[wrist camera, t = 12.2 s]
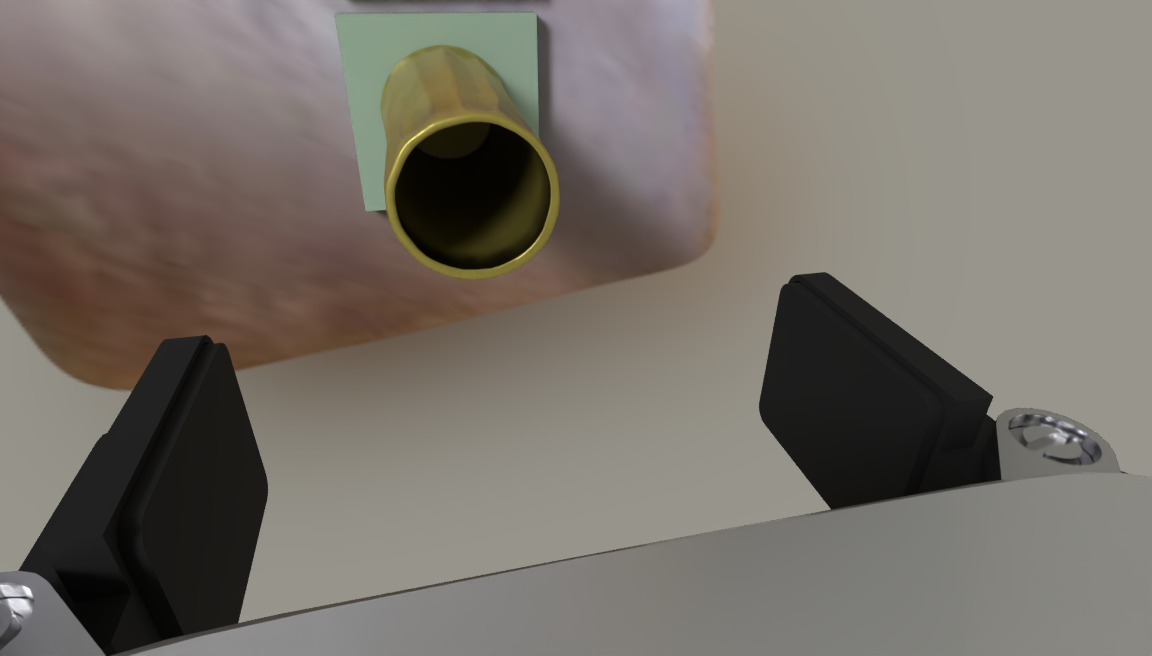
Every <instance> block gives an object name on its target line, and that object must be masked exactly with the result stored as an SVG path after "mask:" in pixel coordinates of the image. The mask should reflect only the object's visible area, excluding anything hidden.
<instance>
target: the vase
mask: <svg viewBox="0 0 1152 656" xmlns="http://www.w3.org/2000/svg"><path fill="white" fill-rule="evenodd" d="M380 110H381V117H382V121H383V124H384V129H385V134H386V142H387V149H386V159H385V173H384V193H385V203H386V211H387V215H388V219H389V222H390V225H391V227H392V230H393V232H394V234H395V235H396V237H397V239H398V240H399V241H400V242H401V244H402V245H403V246H404V247H405V248H406V249H407V251H408V252H409V253H410V254H411V255H412V256H413V257H414V258H415V259H416V260H417V261H418V262H420V263H421V264H422V265H424V266H425V267H427V268H429V269H431V270H433V271H436V272H438V273H441V274H444V275H446V276H450V277H453V278H457V279H467V280H482V279H488V278H493V277H497V276H501V275H504V274H507V273H509V272H511V271H514V270H516V269H517V268H519V267H521V266H522V265H524V264H525V263H527V262H528V261H529V260H530V259H532V258H533V257H534V256H535V255H536V254H537V253H538V252H539V251H540V250H541V249H542V248H543V247H544V245H545V244H546V243H547V241H548V239H549V238H550V236H551V233H552V231H553V229H554V226H555V223H556V220H557V217H558V213H559V206H560V188H559V179H558V173H557V169H556V167H555V164H554V162H553V160H552V158H551V157H550V155H549V153H548V152H547V150H546V148H545V146H544V145H543V143H542V142H541V141H540V139H539V138H538V136H537V135H536V133H535V132H534V131H533V130H532V129H531V128H530V126H529V125H528V124H527V123H526V121H525V120H524V119H523V118H522V116H521V115H520V113H519V112H518V110H517V109H516V107H515V106H514V104H513V103H512V101H511V100H510V98H509V97H508V95H507V93H506V91H505V88H504V86H503V83H502V81H501V79H500V78H499V76H498V75H497V74H496V72H495V71H494V70H493V69H492V68H491V67H490V66H489V65H488V64H487V63H486V62H485V61H484V60H483V59H482V58H480V57H479V56H477V55H476V54H474V53H472V52H470V51H468V50H466V49H463V48H459V47H455V46H450V45H434V46H429V47H426V48H422V49H419V50H417V51H414V52H412V53H410V54H409V55H407V56H406V57H404V58H403V59H402V60H401V61H400V62H399V63H398V64H397V65H396V66H395V67H394V68H393V70H392V71H391V72H390V74H389V76H388V78H387V80H386V82H385V85H384V88H383V92H382V97H381V106H380Z"/></svg>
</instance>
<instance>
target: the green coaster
mask: <svg viewBox="0 0 1152 656" xmlns="http://www.w3.org/2000/svg"><path fill="white" fill-rule="evenodd" d="M335 20H336V27H337V33H338V39H339V46H340V52H341V58H342V65H343V71H344V77H345V84H346V90H347V96H348V103H349V109H350V115H351V121H352V128H353V134H354V140H355V147H356V153H357V159H358V166H359V172H360V178H361V185H362V191H363V197H364V203H365V210H366V211H376V210H386V203H385V193H384V173H385V159H386V149H387V142H386V134H385V129H384V124H383V121H382V117H381V110H380V106H381V97H382V92H383V88H384V85H385V82H386V80H387V78H388V76H389V74H390V72H391V71H392V70H393V68H394V67H395V66H396V65H397V64H398V63H399V62H400V61H401V60H402V59H403V58H404V57H406V56H407V55H409V54H410V53H412V52H414V51H417V50H419V49H422V48H426V47H429V46H434V45H450V46H455V47H459V48H463V49H466V50H468V51H470V52H472V53H474V54H476V55H477V56H479V57H480V58H482V59H483V60H484V61H485V62H486V63H487V64H488V65H489V66H490V67H491V68H492V69H493V70H494V71H495V72H496V74H497V75H498V76H499V78H500V79H501V81H502V83H503V86H504V88H505V91H506V93H507V95H508V97H509V98H510V100H511V101H512V103H513V104H514V106H515V107H516V109H517V110H518V112H519V113H520V115H521V116H522V118H523V119H524V120H525V121H526V123H527V124H528V125H529V126H530V128H531V129H532V130H533V131H534V132H535V133H536V135H537V136H538V138H539V108H538V60H537V13H536V12H533V11H525V12H392V13H336V14H335Z"/></svg>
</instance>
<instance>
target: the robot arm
mask: <svg viewBox="0 0 1152 656" xmlns="http://www.w3.org/2000/svg"><path fill="white" fill-rule="evenodd" d="M992 399H993V396H992V395H990V394H989V393H988V392H987V391H985V390H984V389H983V388H981V387H980V386H978V385H977V384H976V383H975V382H973V381H972V380H970V379H969V378H968V377H967V376H965V375H964V374H962V373H961V372H960V371H958V370H957V369H956V368H954V367H953V366H952V365H950V364H949V363H948V362H946V361H945V360H944V359H942V358H941V357H940V356H938V355H937V354H936V353H934V352H933V351H932V350H930V349H929V348H928V347H926V346H925V345H924V344H922V343H921V342H920V341H918V340H917V339H916V338H914V337H913V336H911V335H910V334H909V333H907V332H906V331H905V330H903V329H902V328H901V327H899V326H898V325H897V324H895V323H894V322H892V321H891V320H890V319H889V318H887V317H886V316H885V315H883V314H882V313H881V312H879V311H878V310H876V309H875V308H874V307H872V306H871V305H870V304H869V303H867V302H866V301H865V300H863V299H862V298H860V297H859V296H858V295H856V294H855V293H854V292H853V291H851V290H850V289H848V288H847V287H846V286H844V285H843V284H842V283H840V282H839V281H838V280H836V279H835V278H834V277H832V276H831V275H829V274H828V273H825V272H822V273H812V274H803V275H795V276H793V277H792V278H791V279H790V281H789V283H788V284H785V285H784V286H783V287H782V289H781V291H780V295H779V301H778V306H777V312H776V317H775V322H774V327H773V333H772V338H771V343H770V349H769V354H768V360H767V365H766V370H765V375H764V381H763V386H762V391H761V397H760V402H759V411H760V415H761V418H762V421H763V422H764V424H765V425H766V426H767V428H768V429H769V430H770V432H771V433H772V434H773V435H774V436H775V438H776V439H777V441H778V442H779V443H780V444H781V446H782V447H783V448H784V450H785V451H786V452H787V453H788V455H789V456H790V457H791V458H792V460H793V461H794V462H795V463H796V465H797V466H798V467H799V469H800V470H801V471H802V473H803V474H804V475H805V476H806V478H807V479H808V480H809V481H810V483H811V484H812V485H813V487H814V488H815V489H816V491H817V492H818V493H819V494H820V496H821V497H822V498H823V500H824V501H825V502H826V503H827V504H828V506H829V507H830V508H831V510H827V511H822V512H816V513H811V514H805V515H799V516H794V517H788V518H783V519H777V520H772V521H766V522H761V523H755V524H751V525H744V526H739V527H734V528H729V529H723V530H718V531H712V532H707V533H701V534H696V535H692V536H686V537H680V538H675V539H669V540H664V541H659V542H653V543H648V544H643V545H637V546H633V547H627V548H621V549H616V550H611V551H606V552H601V553H595V554H589V555H584V556H579V557H573V558H568V559H563V560H558V561H552V562H548V563H542V564H537V565H531V566H526V567H521V568H516V569H511V570H506V571H500V572H495V573H490V574H485V575H480V576H475V577H469V578H464V579H459V580H454V581H449V582H444V583H438V584H433V585H428V586H423V587H418V588H413V589H407V590H402V591H397V592H392V593H386V594H381V595H376V596H371V597H366V598H361V599H355V600H350V601H345V602H340V603H335V604H329V605H324V606H319V607H314V608H309V609H303V610H298V611H293V612H288V613H282V614H278V615H274V616H269V617H264V618H260V619H255V620H251V621H247V622H242V623H238V621H239V617H240V613H241V608H242V604H243V600H244V595H245V591H246V587H247V583H248V578H249V574H250V570H251V566H252V561H253V557H254V553H255V548H256V544H257V540H258V536H259V531H260V527H261V523H262V519H263V515H264V510H265V506H266V502H267V496H268V483H267V477H266V473H265V469H264V466H263V463H262V460H261V456H260V453H259V450H258V447H257V443H256V440H255V437H254V433H253V430H252V427H251V424H250V420H249V417H248V414H247V411H246V407H245V404H244V401H243V398H242V394H241V391H240V388H239V384H238V381H237V378H236V375H235V371H234V368H233V365H232V361H231V358H230V355H229V352H228V349H227V347H226V346H225V344H223V343H217V344H214V343H213V341H212V340H211V338H210V337H209V336H207V335H204V336H194V337H184V338H174V339H166V340H164V341H163V342H162V343H161V344H160V346H159V348H158V349H157V351H156V353H155V354H154V356H153V358H152V359H151V361H150V363H149V364H148V366H147V368H146V369H145V371H144V373H143V374H142V376H141V378H140V379H139V381H138V383H137V384H136V386H135V388H134V389H133V391H132V393H131V395H130V396H129V398H128V399H127V401H126V403H125V405H124V406H123V408H122V409H121V411H120V413H119V415H118V416H117V418H116V420H115V421H114V423H113V425H112V426H111V428H110V430H109V431H108V433H106V434H104V435H102V437H101V438H100V439H99V440H98V441H97V443H96V444H95V446H94V447H93V449H92V451H91V452H90V454H89V455H88V457H87V459H86V460H85V462H84V464H83V465H82V467H81V469H80V470H79V472H78V474H77V475H76V477H75V478H74V480H73V482H72V483H71V485H70V487H69V488H68V490H67V492H66V493H65V495H64V497H63V498H62V500H61V502H60V503H59V505H58V506H57V508H56V510H55V511H54V513H53V515H52V516H51V518H50V520H49V521H48V523H47V524H46V526H45V528H44V529H43V531H42V533H41V535H40V536H39V538H38V539H37V541H36V543H35V544H34V546H33V548H32V549H31V551H30V553H29V554H28V556H27V557H26V559H25V561H24V562H23V564H22V566H21V567H20V569H19V570H18V571H11V572H1V573H0V656H1152V477H1149V476H1142V475H1134V474H1128V473H1125V472H1122V471H1120V468H1119V465H1118V462H1117V459H1116V455H1115V453H1114V451H1113V450H1112V448H1111V447H1110V445H1109V444H1108V443H1107V442H1106V441H1105V440H1104V439H1103V438H1102V437H1101V436H1100V435H1099V434H1098V433H1096V432H1094V431H1093V430H1091V429H1090V428H1088V427H1086V426H1085V425H1083V424H1081V423H1079V422H1077V421H1075V420H1072V419H1070V418H1068V417H1066V416H1063V415H1059V414H1056V413H1052V412H1049V411H1045V410H1039V409H1033V408H1015V409H1011V410H1007V411H1004V412H1003V413H1001V414H1000V415H999V416H998V417H997V420H996V421H994V420H993V419H992V418H991V417H989V416H988V415H987V414H986V413H987V411H988V408H989V406H990V403H991V401H992Z"/></svg>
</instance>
